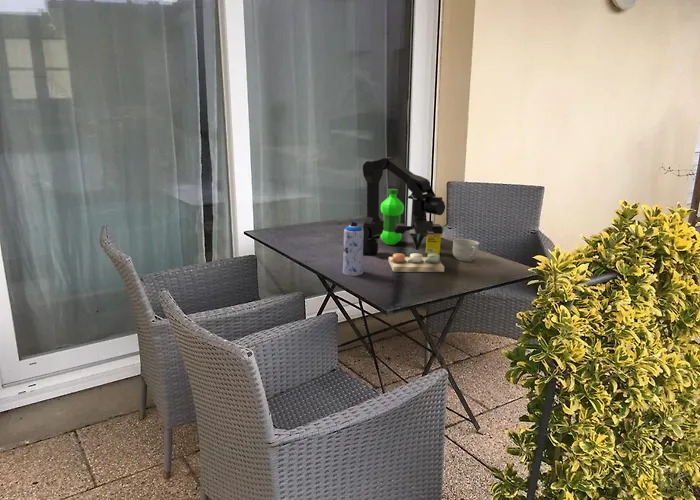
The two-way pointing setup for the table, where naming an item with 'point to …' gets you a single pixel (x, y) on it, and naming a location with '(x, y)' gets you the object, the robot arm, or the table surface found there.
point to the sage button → (433, 257)
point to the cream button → (415, 257)
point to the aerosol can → (353, 250)
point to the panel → (416, 266)
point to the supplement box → (433, 243)
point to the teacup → (465, 249)
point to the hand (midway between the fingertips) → (416, 249)
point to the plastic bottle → (391, 217)
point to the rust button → (398, 257)
